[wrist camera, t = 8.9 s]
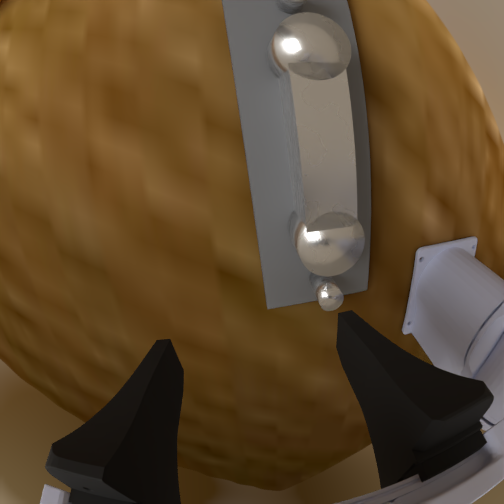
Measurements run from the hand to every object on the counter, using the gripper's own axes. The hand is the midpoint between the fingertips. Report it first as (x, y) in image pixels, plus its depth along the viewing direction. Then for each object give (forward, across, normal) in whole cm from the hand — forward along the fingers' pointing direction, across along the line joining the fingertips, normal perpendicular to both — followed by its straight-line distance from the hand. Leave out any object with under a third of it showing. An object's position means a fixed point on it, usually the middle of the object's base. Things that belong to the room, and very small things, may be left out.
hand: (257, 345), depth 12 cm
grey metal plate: (+9, -5, -7) cm, 13 cm away
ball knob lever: (+8, -5, -7) cm, 12 cm away
